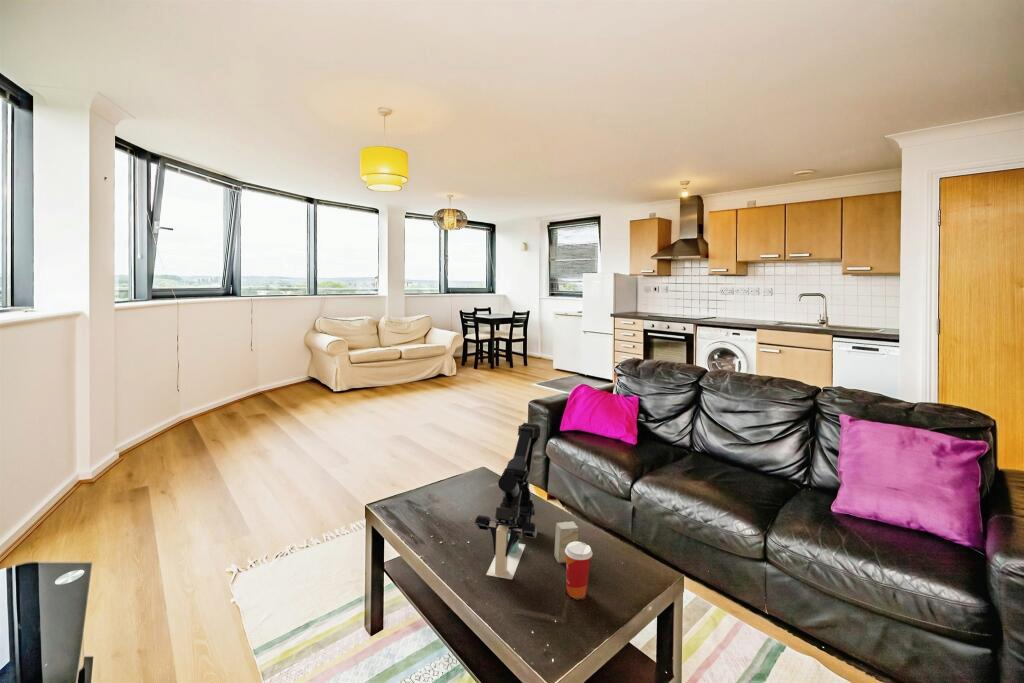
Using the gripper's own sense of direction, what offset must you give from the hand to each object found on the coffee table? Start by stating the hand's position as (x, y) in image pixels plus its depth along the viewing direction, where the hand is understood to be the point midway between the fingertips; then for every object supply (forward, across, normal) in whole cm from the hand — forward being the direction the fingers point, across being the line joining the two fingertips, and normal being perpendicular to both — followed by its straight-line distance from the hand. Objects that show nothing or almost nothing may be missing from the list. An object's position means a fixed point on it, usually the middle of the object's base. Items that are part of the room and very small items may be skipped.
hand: (500, 555), depth 139 cm
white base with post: (-1, 0, +11) cm, 11 cm away
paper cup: (+6, +23, +4) cm, 24 cm away
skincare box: (-5, +18, +15) cm, 24 cm away
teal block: (-6, 0, +14) cm, 16 cm away
